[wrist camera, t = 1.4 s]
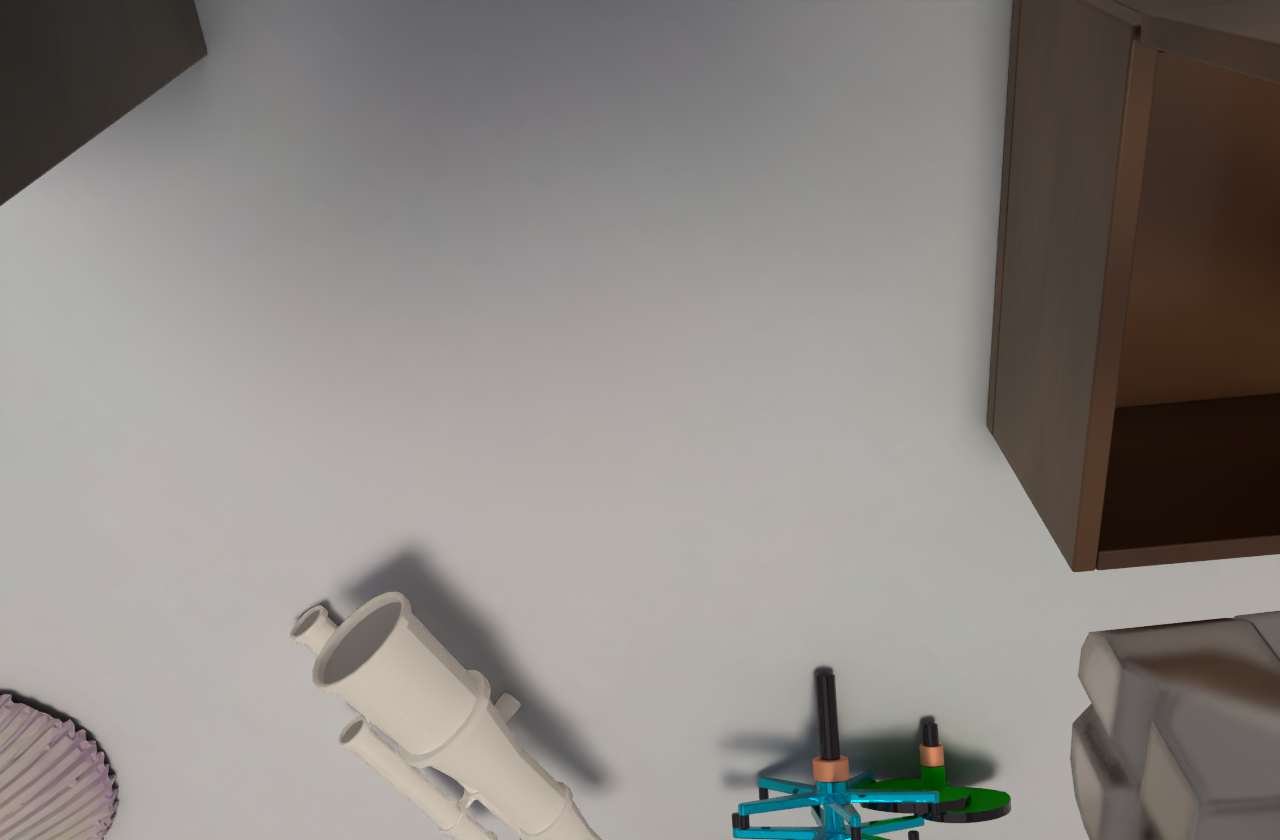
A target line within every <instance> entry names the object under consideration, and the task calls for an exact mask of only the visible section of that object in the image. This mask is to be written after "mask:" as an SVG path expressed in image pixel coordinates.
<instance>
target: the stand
mask: <svg viewBox="0 0 1280 840" xmlns="http://www.w3.org/2000/svg"><path fill="white" fill-rule="evenodd" d="M206 55H207V52H206V48H205V44H204V40H203V36H202V33H201V29H200V25H199V21H198V17H197V14H196V10H195V6H194V2H193V0H0V206H1V205H3V204H4V203H5V202H7V201H8V200H9V199H11V198H12V197H14V196H15V195H16V194H18V193H19V192H20V191H22V190H23V189H24V188H26V187H27V186H29V185H30V184H31V183H33V182H34V181H35V180H37V179H38V178H39V177H41V176H42V175H44V174H45V173H46V172H48V171H49V170H50V169H52V168H53V167H54V166H56V165H57V164H59V163H60V162H61V161H63V160H64V159H65V158H67V157H68V156H69V155H71V154H72V153H74V152H75V151H76V150H78V149H79V148H80V147H82V146H83V145H84V144H86V143H87V142H88V141H90V140H91V139H93V138H94V137H95V136H97V135H98V134H99V133H101V132H102V131H103V130H105V129H106V128H108V127H109V126H110V125H112V124H113V123H114V122H116V121H117V120H118V119H120V118H121V117H123V116H124V115H125V114H127V113H128V112H129V111H131V110H132V109H133V108H135V107H136V106H138V105H139V104H140V103H142V102H143V101H144V100H146V99H147V98H148V97H150V96H151V95H153V94H154V93H155V92H157V91H158V90H159V89H161V88H162V87H163V86H165V85H166V84H168V83H169V82H170V81H172V80H173V79H174V78H176V77H177V76H178V75H180V74H181V73H183V72H184V71H185V70H187V69H188V68H189V67H191V66H192V65H193V64H195V63H196V62H198V61H199V60H200V59H202V58H203V57H204V56H206Z"/></svg>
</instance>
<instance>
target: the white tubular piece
mask: <svg viewBox="0 0 1280 840" xmlns="http://www.w3.org/2000/svg"><path fill="white" fill-rule="evenodd" d="M327 616H328V611H327V610H326V609H325V608H324V607H322V606H321V605H319V606H315V607H313V608H311V609H310V610H308V611H307V612H306V613H305V614H303V616H302V617H301V618H300V619H299V620H298V621H297V622H296V624H295V625H294V627H293V628H292V630H291V633H290V638H291V639H292V640H294V641H295V642H296V643H297V644H300V643H303V644H304V645H305V646H306V647H308V648H309V649H310V650H311V651H312V652H313V653H314V654H315V655H317V656H318V657H317V659H316V662H315V665H314V668H313V671H312V677H313V683H314V684H315V685H316V686H317V687H318V688H319V689H320V690H322V691H323V692H324V693H332V694H335V693H336V694H337V695H338V696H339V697H341V698H342V699H343V700H344V701H346V702H347V703H348V704H349V705H351V706H352V707H353V708H354V709H356V710H357V711H358V712H359V713H361V714H362V715H361V716H360V717H357V718H355V719H354V720H352V721H351V722H350V723H349V724H348V725H347V726H346V727H345V728H344V730H343V731H342V733H341V735H340V737H339V744H340V745H341V746H342V747H343V748H344V749H345V750H352V751H353V752H354V753H355V754H356V755H357V756H359V757H360V758H361V759H362V760H363V761H364V762H365V763H367V764H368V765H369V766H370V767H371V768H372V769H374V770H375V771H376V772H377V773H378V774H379V775H381V776H382V777H383V778H384V779H385V780H386V781H388V782H389V783H390V784H391V785H392V786H393V787H394V788H396V789H397V790H398V791H399V792H400V793H401V794H403V795H404V796H405V797H406V798H407V799H408V800H410V801H411V802H412V803H413V804H414V805H415V806H416V807H418V808H419V809H420V810H421V811H422V812H423V813H425V814H426V815H427V816H428V817H429V818H430V819H432V820H433V821H434V822H435V823H436V824H437V825H439V829H440V831H441V832H442V833H443V834H444V835H450V836H451V837H452V838H454V839H455V840H497V836H496V835H495V834H494V833H493V832H491V831H487V830H486V829H485V828H484V827H483V826H481V825H480V824H479V823H478V822H477V821H476V820H475V819H473V818H472V817H471V816H470V815H469V814H468V813H467V809H468V808H469V807H470V805H471V804H472V803H473V801H474V800H476V799H478V800H479V801H480V802H481V803H482V804H483V805H484V806H485V807H486V808H488V809H489V810H490V811H491V812H492V813H493V814H494V815H495V816H497V817H498V818H499V819H500V820H501V821H502V822H503V823H504V824H505V825H507V826H508V827H509V828H510V829H511V830H512V831H513V832H514V833H516V834H517V835H518V836H519V838H520V840H602V839H601V838H600V837H599V836H598V835H597V834H596V833H595V832H594V831H593V830H592V829H591V828H590V827H589V825H588V824H587V822H586V820H585V819H584V817H583V816H582V814H581V813H580V811H579V809H578V808H577V806H576V805H575V803H574V801H573V800H572V799H573V795H572V792H571V789H570V788H569V787H568V786H567V785H565V784H564V783H563V782H557V781H556V780H555V779H554V778H553V777H552V776H551V775H550V774H549V773H548V772H547V771H546V770H545V769H544V768H543V767H542V766H541V765H539V764H538V763H537V762H536V761H535V760H534V759H533V758H532V757H531V756H530V755H529V754H528V753H527V752H526V751H525V750H524V749H523V748H522V747H521V746H520V745H519V744H518V742H517V741H516V739H515V738H514V736H513V734H512V733H511V731H510V730H509V728H508V727H507V723H508V722H509V721H510V719H511V718H512V717H513V715H514V714H515V713H516V711H517V710H518V709H519V707H520V706H521V704H520V703H519V702H518V701H517V700H516V699H515V698H514V697H512V696H511V695H509V694H508V693H505V692H504V693H503V694H502V696H501V697H500V698H499V700H498V701H497V702H496V704H495V705H493V703H492V702H491V700H490V692H491V688H490V685H489V682H488V680H487V679H486V678H485V677H484V675H482V674H481V673H480V672H478V671H477V670H465V669H464V668H463V667H462V666H461V664H460V663H459V662H458V661H457V660H456V659H455V658H454V657H453V656H452V655H451V654H450V653H449V652H448V651H447V650H446V649H445V648H444V647H443V645H442V644H441V643H440V642H439V641H438V640H437V639H436V638H435V637H434V636H433V635H432V634H431V633H430V632H429V631H428V630H427V629H426V628H425V626H424V625H423V624H422V623H421V622H420V621H419V620H418V619H417V618H416V617H415V616H414V615H413V614H412V613H411V606H410V602H409V601H408V600H407V599H406V597H405V596H404V595H402V594H401V593H399V592H386V593H384V594H381V595H379V596H376V597H374V598H373V599H371V600H370V601H368V602H367V603H365V604H363V605H362V606H361V607H360V608H358V609H357V610H356V611H355V612H354V613H352V614H351V615H350V616H349V617H348V618H347V619H346V620H345V621H344V622H343V623H342V624H341V625H340V626H339V627H338V626H337V625H336V624H335V623H334V622H333V621H332V620H331V619H330V618H328V617H327ZM371 722H372V723H373V724H374V725H376V726H377V727H378V728H379V729H381V730H382V731H383V732H384V733H386V734H387V735H388V736H389V737H391V738H392V739H393V740H394V741H396V742H397V743H398V744H399V752H398V751H396V750H395V749H394V748H393V747H392V746H391V745H390V744H389V743H387V742H386V741H385V740H384V739H383V738H382V737H381V736H379V735H378V734H377V733H376V732H375V731H374V730H373V729H372V728H370V723H371ZM427 766H431V767H433V768H435V769H437V770H439V771H441V772H443V773H445V774H446V775H448V776H450V777H452V778H454V779H455V780H456V781H457V782H459V783H460V784H461V785H462V786H463V787H464V793H465V794H464V795H463V797H462V798H461V799H460V801H459V802H458V804H456V803H455V802H454V801H453V800H452V799H451V798H450V797H449V796H447V795H446V794H445V793H444V792H443V791H442V790H441V789H439V788H438V787H437V786H436V785H435V784H434V783H433V782H432V781H430V780H429V779H428V778H427V777H426V776H425V775H424V774H423V773H421V772H420V771H419V770H418V769H417V768H424V767H427ZM416 767H417V768H416Z"/></svg>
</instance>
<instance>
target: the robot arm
mask: <svg viewBox="0 0 1280 840" xmlns="http://www.w3.org/2000/svg"><path fill="white" fill-rule="evenodd" d="M1078 677H1079V679H1080V681H1081V683H1082V685H1083V687H1084V689H1085V691H1086V693H1087V695H1088V697H1089V699H1090V701H1091V703H1092V704H1091V705H1090V706H1089V707H1088V708H1087V709H1086V710H1085V711H1084V712H1083V713H1082V714H1081V715H1080V716H1079V717H1078V718H1077V719H1076V720H1075V721H1074V723H1073V726H1072V741H1071V755H1070V761H1071V768H1072V776H1073V784H1074V792H1075V798H1076V801H1077V805H1078V808H1079V811H1080V815H1081V818H1082V821H1083V824H1084V827H1085V830H1086V832H1087V834H1088V837H1089V839H1090V840H1280V611H1274V612H1265V613H1256V614H1247V615H1239V616H1235V617H1234V618H1233V619H1232V618H1220V619H1211V620H1201V621H1192V622H1182V623H1173V624H1163V625H1154V626H1144V627H1135V628H1125V629H1116V630H1106V631H1097V632H1089V634H1088V636H1087V638H1086V640H1085V642H1084V644H1083V646H1082V648H1081V656H1080V664H1079V672H1078Z"/></svg>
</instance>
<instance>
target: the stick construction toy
mask: <svg viewBox="0 0 1280 840" xmlns="http://www.w3.org/2000/svg"><path fill="white" fill-rule="evenodd" d="M815 683H816V699H817V715H818V730H819V746H820V756H817V757H814V758H813V759H812V761H813V777H814V780H816V785H811V784H805V783H799V782H793V781H787V780H781V779H775V778H769V777H759V778H758V784H759V799H760V800H758V801H751V802H745V803H740V804H739V805H738V811H739V813H733V814H732V827H733V837H734V838H747V839H777V840H890V839H886V838H881V837H877V836H873V835H876V834H881V833H887V832H892V831H897V830H903V829H908V828H914V827H919V826H923V825H924V819H926V820H930V821H935V822H944V823H971V822H981V821H988V820H993V819H997V818H1000V817H1002V816H1005V815H1007V814H1008V813H1009V812H1010V811H1011V798H1010V796H1009V795H1008V794H1007V793H1006V792H1002V791H997V790H990V789H982V788H971V787H950V784H949V782H947V781H945V767H944V754H943V745H942V744H939V739H938V725H937V724H936V723H923V724H922V734H923V744H921V745H920V760H921V774H922V778H900V779H890V780H884V781H879V782H876V777H875V771H874V770H867V771H865V772H863V773H860V774H858V775H856V776H854V777H852V778H850V779H849V763H848V758H847V757H845V756H841V755H840V747H839V732H838V717H837V701H836V686H835V675H834V674H831V673H822V674H816V675H815ZM768 789H771V790H775V791H780V792H784V793H788V794H793V795H788V796H782V797H776V798H770V799H769V796H768ZM851 803H860V805H861V807H863V808H867V809H872V810H878V811H885V812H894V813H914V815H913V816H906V817H899V818H892V819H885V820H878V821H871V822H864V823H861V818H860V815H859V813H858V812H857V811H856V809H855V808H854V807H853V805H852V804H851ZM820 805H823V809H824V810H823V809H822V808H821V807H820ZM807 806H811V814H812V816H813V817H814V819H815V821H816V823H817V824H818V826H819V827H750V825H749V814H755V813H763V812H770V811H777V810H785V809H792V808H799V807H807ZM844 820H846V821H847V822H848V823H849V824H850V825H845V824H844ZM908 839H909V840H919V832H918V831H909V832H908Z"/></svg>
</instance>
